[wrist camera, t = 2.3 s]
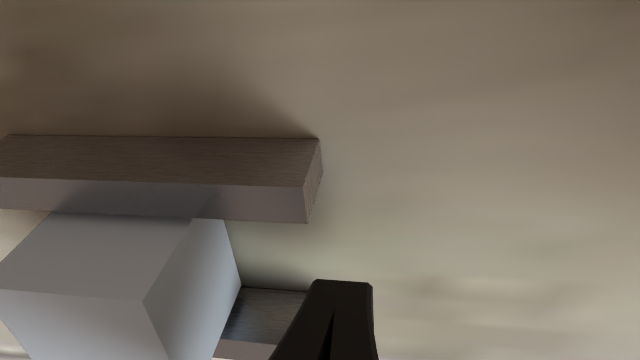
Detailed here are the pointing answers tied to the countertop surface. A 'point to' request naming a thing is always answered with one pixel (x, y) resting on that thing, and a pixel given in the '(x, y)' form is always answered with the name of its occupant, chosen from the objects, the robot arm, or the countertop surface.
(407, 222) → the countertop surface
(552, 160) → the countertop surface
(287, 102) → the countertop surface
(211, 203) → the grey flat bars
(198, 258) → the block
